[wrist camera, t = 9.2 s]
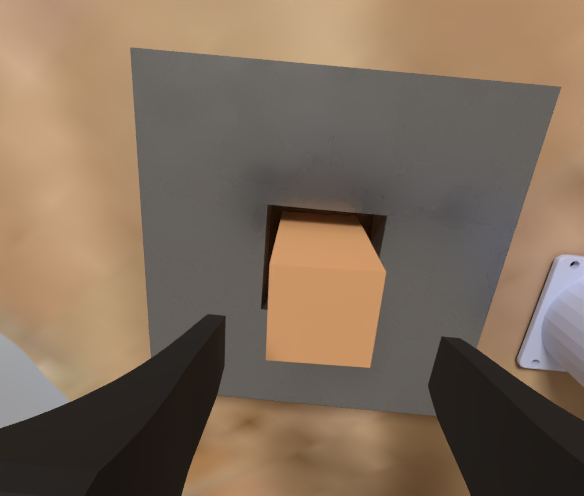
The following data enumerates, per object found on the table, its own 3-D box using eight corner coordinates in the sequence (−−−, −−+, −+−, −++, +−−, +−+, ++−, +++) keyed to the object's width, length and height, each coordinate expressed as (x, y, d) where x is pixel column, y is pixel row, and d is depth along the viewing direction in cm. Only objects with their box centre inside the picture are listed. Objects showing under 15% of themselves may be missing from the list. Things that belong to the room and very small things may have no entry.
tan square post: (356, 216, 21) (386, 272, 13) (348, 283, 22) (369, 367, 15) (282, 211, 21) (269, 264, 13) (279, 278, 22) (265, 360, 15)
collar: (521, 91, 18) (561, 86, 15) (436, 383, 25) (453, 417, 22) (157, 58, 18) (130, 47, 15) (170, 358, 25) (153, 389, 22)
